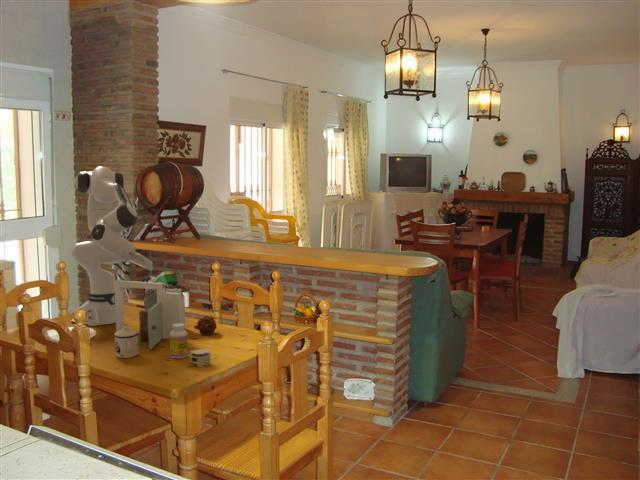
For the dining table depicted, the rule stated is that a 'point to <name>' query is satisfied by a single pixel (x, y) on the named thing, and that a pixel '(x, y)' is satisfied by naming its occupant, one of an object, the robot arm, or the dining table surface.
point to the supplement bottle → (178, 341)
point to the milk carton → (181, 302)
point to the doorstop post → (143, 326)
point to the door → (155, 324)
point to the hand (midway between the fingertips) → (146, 266)
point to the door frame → (168, 300)
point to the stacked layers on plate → (200, 357)
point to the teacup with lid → (126, 343)
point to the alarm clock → (150, 298)
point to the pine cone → (206, 325)
